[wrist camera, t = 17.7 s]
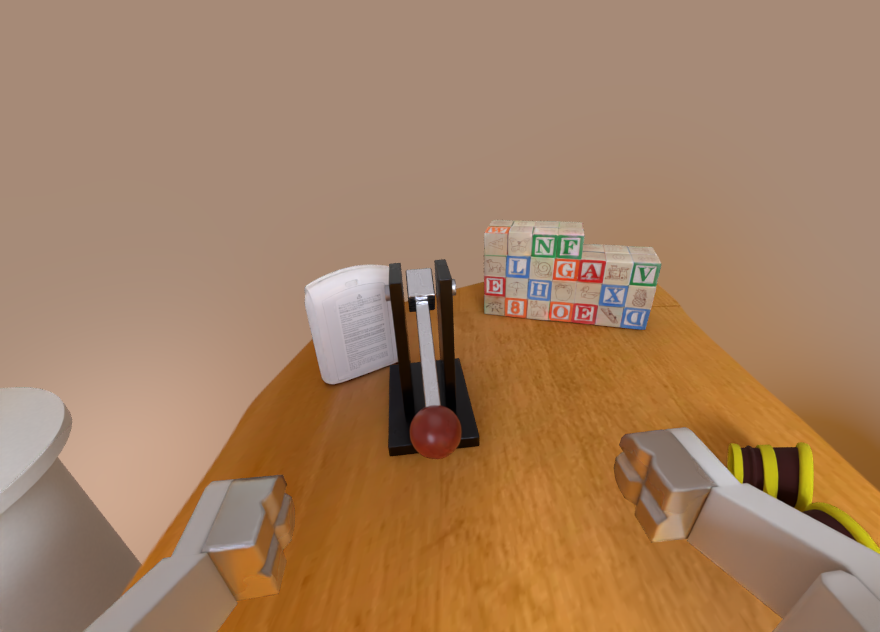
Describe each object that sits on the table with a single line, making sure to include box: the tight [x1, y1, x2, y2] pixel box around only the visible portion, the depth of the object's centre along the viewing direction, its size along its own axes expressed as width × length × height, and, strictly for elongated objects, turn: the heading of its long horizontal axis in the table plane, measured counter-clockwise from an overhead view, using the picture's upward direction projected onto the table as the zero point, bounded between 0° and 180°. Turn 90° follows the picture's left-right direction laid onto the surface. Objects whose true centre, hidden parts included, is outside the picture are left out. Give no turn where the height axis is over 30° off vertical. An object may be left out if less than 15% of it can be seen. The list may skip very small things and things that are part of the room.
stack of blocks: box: [484, 220, 661, 330], centre depth 51 cm, size 21×6×12 cm, turn 72°
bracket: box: [384, 259, 479, 456], centre depth 35 cm, size 12×8×15 cm, turn 6°
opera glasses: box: [727, 442, 880, 554], centre depth 25 cm, size 10×5×5 cm, turn 163°
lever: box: [406, 268, 462, 459], centre depth 29 cm, size 15×4×4 cm, turn 7°
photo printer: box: [305, 265, 398, 384], centre depth 42 cm, size 10×4×12 cm, turn 121°
